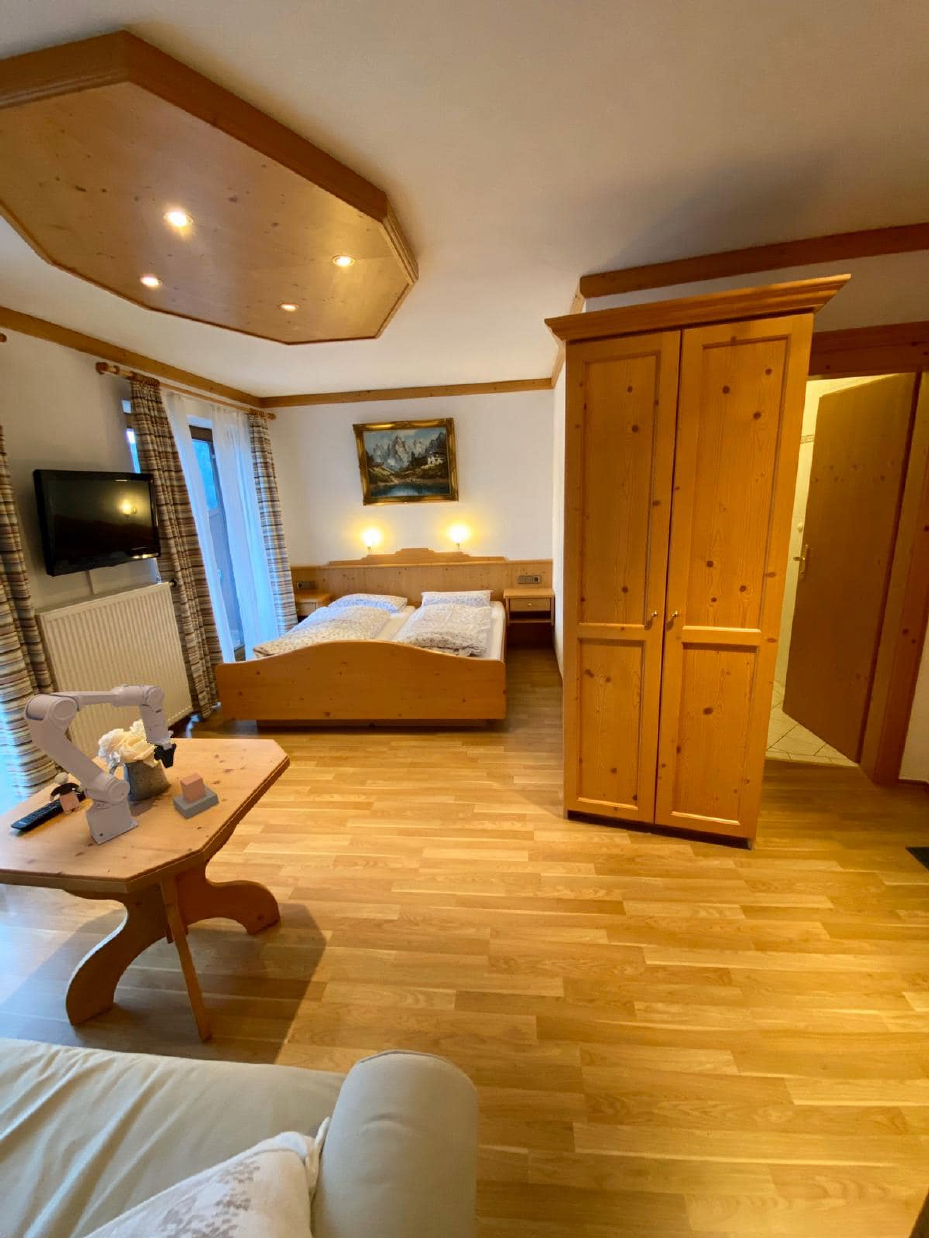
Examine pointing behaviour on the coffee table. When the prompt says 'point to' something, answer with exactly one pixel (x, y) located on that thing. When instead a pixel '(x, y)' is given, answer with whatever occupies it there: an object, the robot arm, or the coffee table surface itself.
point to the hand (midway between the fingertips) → (164, 763)
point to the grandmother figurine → (66, 793)
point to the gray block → (195, 803)
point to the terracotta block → (193, 787)
